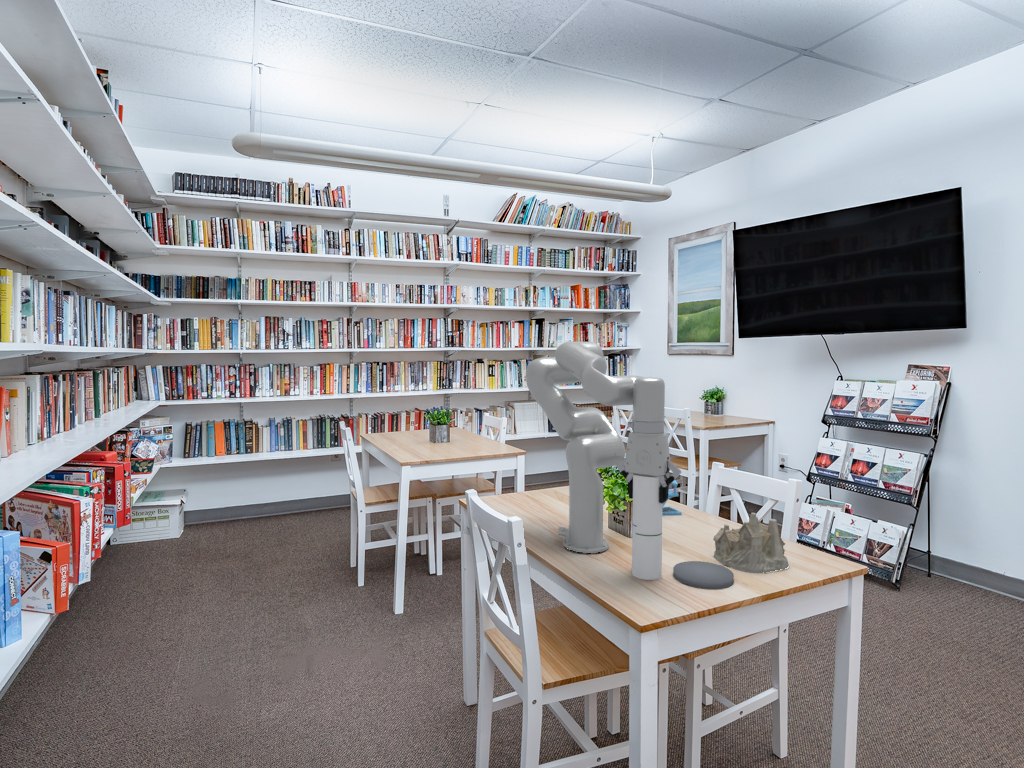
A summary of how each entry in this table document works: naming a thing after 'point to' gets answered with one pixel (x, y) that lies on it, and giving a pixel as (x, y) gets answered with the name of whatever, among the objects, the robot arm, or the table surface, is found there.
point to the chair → (670, 495)
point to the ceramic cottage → (751, 547)
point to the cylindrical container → (646, 528)
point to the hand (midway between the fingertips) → (647, 499)
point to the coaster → (703, 575)
